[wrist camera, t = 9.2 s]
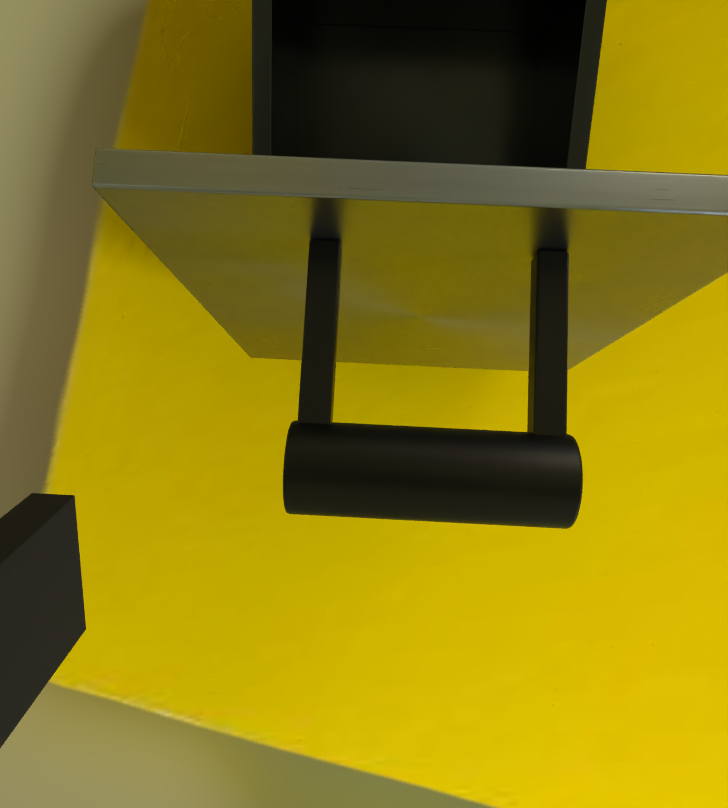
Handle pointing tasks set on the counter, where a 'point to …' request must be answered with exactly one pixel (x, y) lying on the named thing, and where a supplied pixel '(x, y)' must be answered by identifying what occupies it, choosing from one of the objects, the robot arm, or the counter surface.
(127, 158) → the lid
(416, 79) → the black hollow box
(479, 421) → the counter surface
